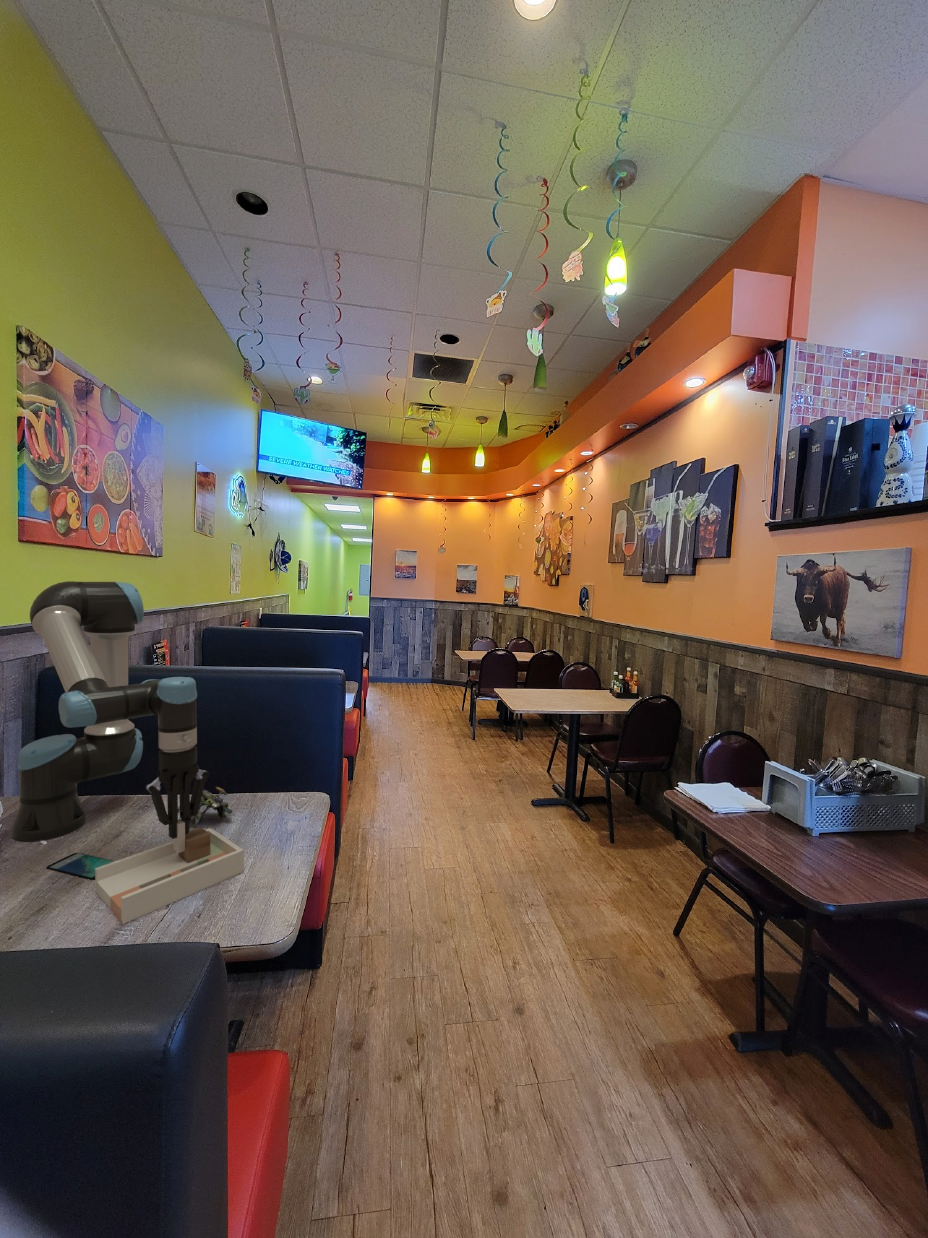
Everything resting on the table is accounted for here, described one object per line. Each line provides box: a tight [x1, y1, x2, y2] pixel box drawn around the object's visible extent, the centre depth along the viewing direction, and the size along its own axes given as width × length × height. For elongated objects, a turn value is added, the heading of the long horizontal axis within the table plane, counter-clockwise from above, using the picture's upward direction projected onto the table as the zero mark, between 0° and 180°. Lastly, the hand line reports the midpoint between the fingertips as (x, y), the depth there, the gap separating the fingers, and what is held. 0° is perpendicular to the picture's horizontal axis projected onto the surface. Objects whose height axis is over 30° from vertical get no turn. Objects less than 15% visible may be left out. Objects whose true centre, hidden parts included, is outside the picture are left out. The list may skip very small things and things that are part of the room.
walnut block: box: [178, 826, 210, 863], centre depth 119 cm, size 5×5×5 cm
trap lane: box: [94, 827, 245, 925], centre depth 113 cm, size 16×24×5 cm, turn 141°
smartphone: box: [45, 852, 116, 881], centre depth 118 cm, size 7×1×15 cm
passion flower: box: [178, 786, 233, 829], centre depth 140 cm, size 11×11×12 cm
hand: (179, 849), depth 116 cm, fingers closed
